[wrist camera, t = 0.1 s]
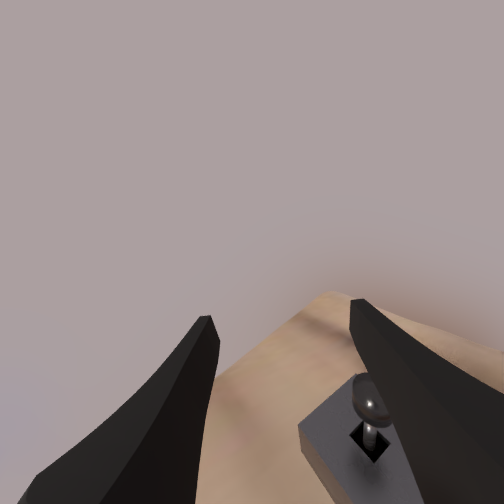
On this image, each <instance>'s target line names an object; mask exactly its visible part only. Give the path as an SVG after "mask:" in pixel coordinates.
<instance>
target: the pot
mask: <svg viewBox="0 0 504 504" xmlns="http://www.w3.org/2000/svg"><path fill="white" fill-rule="evenodd" d="M356 376H357V374H355V375H354V376H353V377H351V378H350V379H349V380H348V381H347V382H346V383H345V384H343V385H342V386H341V387H340V388H339V389H338V390H337V391H336V392H334V393H333V394H332V395H331V396H330V397H329V398H328V399H326V400H325V401H324V402H323V403H322V404H321V405H320V406H318V407H317V408H316V409H315V410H314V411H313V412H312V413H310V414H309V415H308V416H307V417H306V418H305V419H304V420H303V421H301V422H300V423H299V424H298V430H299V437H300V444H301V451H302V453H303V454H304V456H305V457H306V459H307V461H308V462H309V464H310V465H311V467H312V468H313V470H314V471H315V473H316V474H317V476H318V477H319V479H320V481H321V482H322V484H323V485H324V487H325V488H326V490H327V491H328V493H329V494H330V496H331V498H332V499H333V501H334V502H335V504H424V502H423V499H422V496H421V494H420V491H419V489H418V486H417V483H416V481H415V478H414V475H413V473H412V470H411V467H410V465H409V462H408V460H407V457H406V455H405V452H404V450H403V447H402V445H401V442H400V440H399V437H398V435H397V432H396V430H395V428H394V425H393V423H392V424H391V425H390V426H389V427H386V428H377V434H378V435H379V436H380V437H381V438H382V439H383V440H384V441H385V442H386V443H387V444H388V445H389V446H388V448H387V449H386V450H385V451H384V453H383V454H382V455H381V456H380V458H379V459H378V460H377V461H376V462H375V464H374V463H373V462H372V461H371V460H370V458H369V457H368V456H367V455H366V454H365V453H364V452H363V450H362V449H361V448H360V447H359V446H358V445H357V444H356V443H355V441H354V440H353V439H352V438H351V436H352V435H353V434H354V432H355V431H356V430H357V429H358V428H359V427H360V426H361V425H362V424H363V423H364V421H363V420H362V419H361V418H360V417H359V416H358V415H357V413H356V412H355V410H354V408H353V405H352V385H353V380H354V378H355V377H356Z"/></svg>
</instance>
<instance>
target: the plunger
mask: <svg viewBox="0 0 504 504" xmlns="http://www.w3.org/2000/svg"><path fill="white" fill-rule="evenodd" d="M352 405H353V408H354V410H355V412H356V413H357V415H358V416H359V417H360V418H361V419H362V420H363V421H364V430H363V445H364V447H365V448H366V449H367V450H369V451H373V450H374V449H375V444H376V436H377V428H386V427H389V426H390V425H391V424H392V420H391V418H390V415H389V413H388V411H387V409H386V406H385V404H384V402H383V400H382V398H381V396H380V394H379V392H378V390H377V388H376V386H375V384H374V382H373V381H372V379H371V377H370V375H369V373H361V374H358V375H357V376H356V377H355V378H354V380H353V385H352Z"/></svg>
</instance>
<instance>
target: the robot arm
mask: <svg viewBox="0 0 504 504" xmlns="http://www.w3.org/2000/svg"><path fill="white" fill-rule="evenodd" d="M349 330H350V333H351V335H352V338H353V341H354V344H355V346H356V349H357V351H358V353H359V355H360V357H361V359H362V361H363V363H364V365H365V367H366V369H367V371H368V373H369V375H370V377H371V379H372V381H373V382H374V384H375V386H376V388H377V390H378V392H379V394H380V396H381V398H382V400H383V402H384V404H385V406H386V409H387V411H388V413H389V415H390V418H391V420H392V423H393V425H394V428H395V430H396V432H397V435H398V437H399V440H400V442H401V445H402V447H403V450H404V452H405V455H406V457H407V460H408V462H409V465H410V467H411V470H412V473H413V475H414V478H415V481H416V483H417V486H418V489H419V491H420V494H421V496H422V499H423V502H424V504H504V394H502V393H501V392H499V391H497V390H495V389H493V388H492V387H490V386H488V385H486V384H485V383H483V382H481V381H479V380H478V379H476V378H474V377H472V376H471V375H469V374H467V373H466V372H464V371H463V370H461V369H459V368H458V367H456V366H455V365H453V364H451V363H450V362H448V361H447V360H445V359H443V358H442V357H440V356H439V355H437V354H436V353H434V352H433V351H431V350H430V349H428V348H427V347H426V346H424V345H423V344H421V343H420V342H418V341H417V340H416V339H414V338H413V337H412V336H410V335H409V334H408V333H406V332H405V331H404V330H402V329H401V328H400V327H398V326H397V325H396V324H395V323H393V322H392V321H391V320H389V319H388V318H387V317H386V316H385V315H383V314H382V313H381V312H380V311H378V310H377V309H376V308H375V307H373V306H372V305H371V304H370V303H369V302H367V301H366V300H365V299H356V300H351V305H350V325H349ZM219 349H220V339H219V337H218V334H217V331H216V329H215V326H214V323H213V320H212V318H211V316H210V315H209V316H200V317H199V318H198V319H197V321H196V322H195V323H194V325H193V326H192V327H191V329H190V330H189V331H188V333H187V334H186V335H185V337H184V338H183V339H182V340H181V342H180V343H179V344H178V346H177V347H176V348H175V349H174V351H173V352H172V353H171V354H170V356H169V357H168V358H167V359H166V360H165V361H164V363H163V364H162V365H161V366H160V367H159V368H158V370H157V371H156V372H155V373H154V374H153V375H152V376H151V377H150V378H149V380H148V381H147V382H146V383H145V384H144V385H143V386H142V387H141V388H140V389H139V390H138V391H137V392H136V393H135V394H134V395H133V396H132V397H131V398H129V400H127V401H126V402H125V403H124V404H123V405H122V406H121V407H120V408H119V409H118V410H117V411H116V412H114V414H112V415H111V416H110V417H109V418H108V419H107V420H106V421H104V422H103V423H102V424H101V425H100V426H99V427H97V429H95V430H94V431H93V432H92V433H90V434H89V435H88V436H87V437H85V438H84V439H83V440H82V441H81V442H79V443H78V444H77V445H76V446H74V447H73V448H72V449H70V450H69V451H68V452H67V453H65V454H64V455H63V456H61V457H60V458H59V459H57V460H56V461H55V462H54V463H52V464H51V465H50V466H48V467H47V468H46V469H45V470H43V471H42V472H40V473H39V474H38V475H36V477H35V478H34V480H33V481H32V483H31V484H30V486H29V487H28V488H27V490H26V492H25V493H24V495H23V496H22V497H21V499H20V500H19V502H18V503H17V504H195V500H196V490H197V481H198V471H199V463H200V455H201V447H202V440H203V432H204V425H205V419H206V414H207V408H208V404H209V400H210V395H211V391H212V386H213V382H214V378H215V373H216V368H217V364H218V357H219Z"/></svg>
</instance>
